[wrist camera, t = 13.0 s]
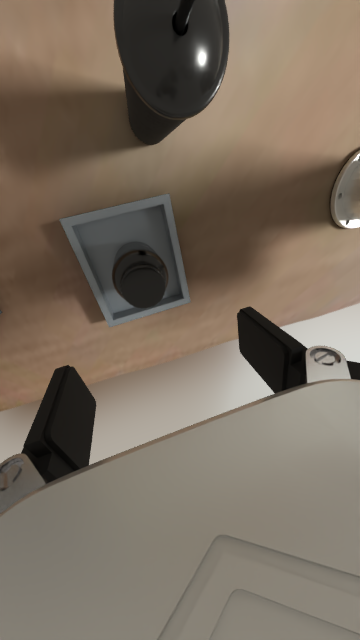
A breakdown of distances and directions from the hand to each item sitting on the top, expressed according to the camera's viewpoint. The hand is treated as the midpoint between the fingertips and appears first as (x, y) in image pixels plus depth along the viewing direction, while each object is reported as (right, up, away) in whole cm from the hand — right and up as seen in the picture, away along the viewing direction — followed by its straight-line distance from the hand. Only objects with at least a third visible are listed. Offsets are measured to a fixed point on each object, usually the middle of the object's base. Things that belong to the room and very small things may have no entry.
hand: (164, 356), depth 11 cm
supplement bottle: (-6, +11, +20) cm, 24 cm away
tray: (-6, +11, +21) cm, 24 cm away
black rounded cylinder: (-3, +27, +14) cm, 30 cm away
